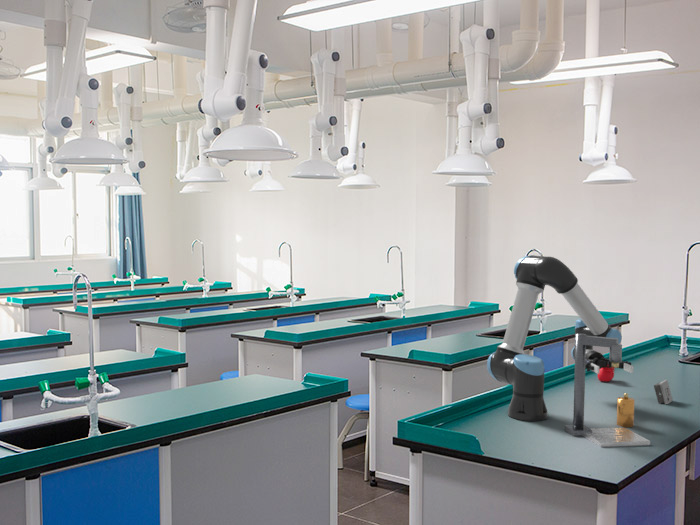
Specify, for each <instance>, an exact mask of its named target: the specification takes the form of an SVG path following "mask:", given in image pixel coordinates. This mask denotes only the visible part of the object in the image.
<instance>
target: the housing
mask: <svg viewBox="0 0 700 525" xmlns="http://www.w3.org/2000/svg"><path fill="white" fill-rule="evenodd" d="M634 422H635V399H634V398H633V397H629V393H627V392H624V393H623V396H618V397H617V400H616V426H619V427H620V428H633V427H635V425H634V424H635V423H634Z"/></svg>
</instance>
